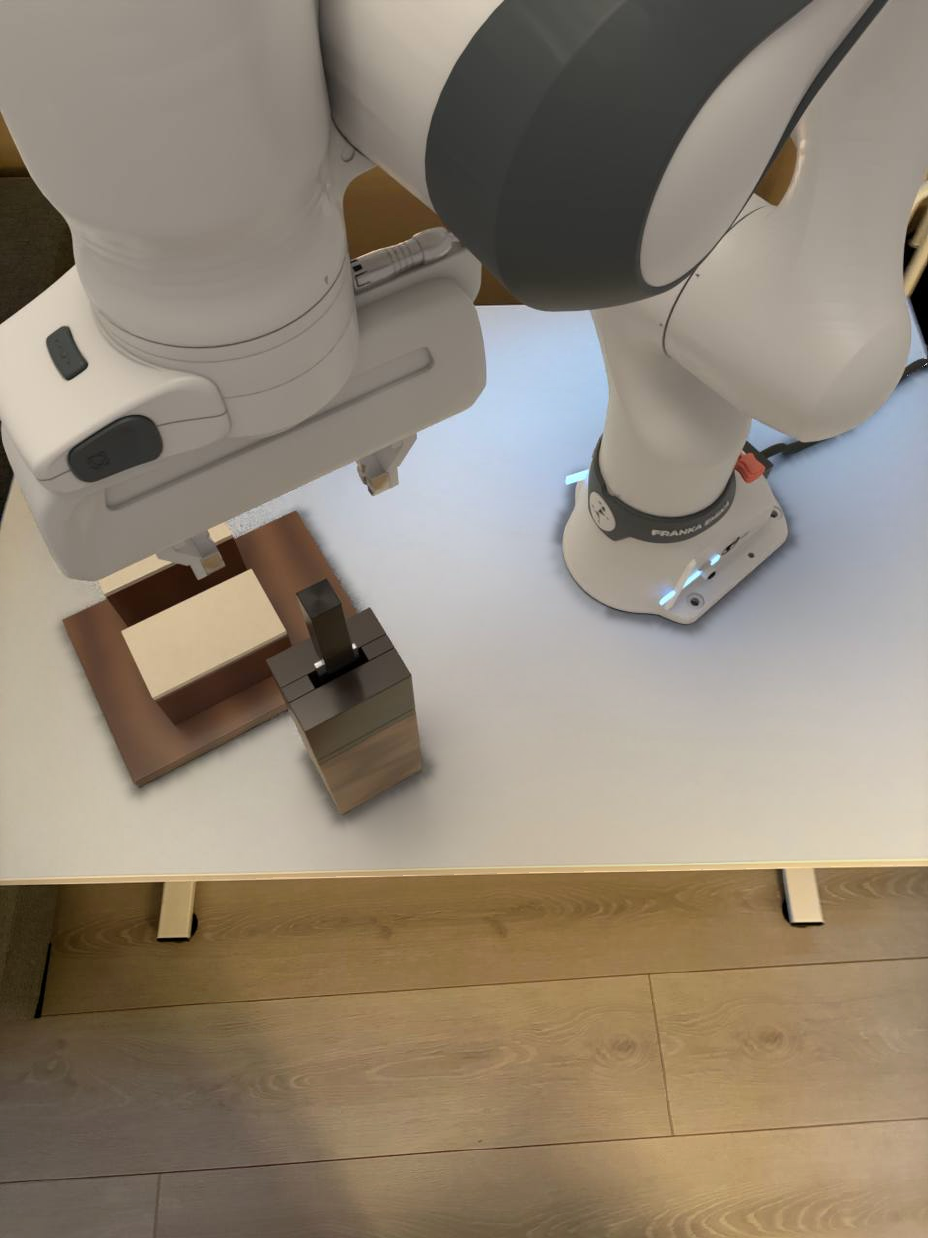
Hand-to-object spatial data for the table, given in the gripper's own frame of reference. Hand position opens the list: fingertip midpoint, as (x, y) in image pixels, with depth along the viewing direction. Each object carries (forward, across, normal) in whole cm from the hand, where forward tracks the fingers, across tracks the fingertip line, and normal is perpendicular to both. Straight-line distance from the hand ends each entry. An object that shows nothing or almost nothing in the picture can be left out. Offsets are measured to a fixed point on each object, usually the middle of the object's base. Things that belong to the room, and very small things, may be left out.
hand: (294, 521), depth 45 cm
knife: (+24, 0, 0) cm, 24 cm away
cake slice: (+38, +7, -24) cm, 45 cm away
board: (+39, +6, -17) cm, 43 cm away
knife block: (+39, 0, 0) cm, 39 cm away
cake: (+38, +7, -14) cm, 41 cm away
